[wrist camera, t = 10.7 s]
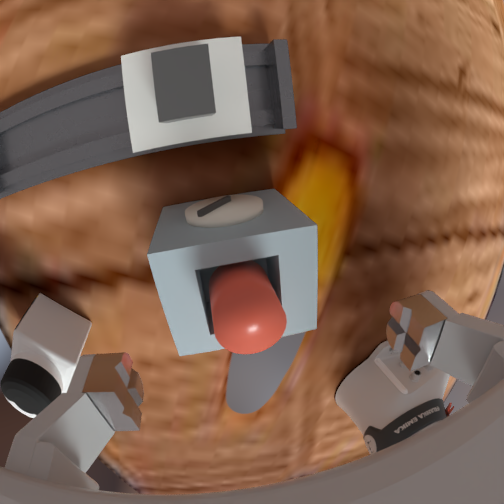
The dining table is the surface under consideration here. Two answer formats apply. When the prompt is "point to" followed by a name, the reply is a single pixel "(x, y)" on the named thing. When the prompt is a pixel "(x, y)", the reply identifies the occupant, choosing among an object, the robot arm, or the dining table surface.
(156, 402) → the dining table surface
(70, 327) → the medicine bottle
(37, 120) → the rail
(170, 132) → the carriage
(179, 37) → the dining table surface
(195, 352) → the gauge cabinet
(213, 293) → the button
